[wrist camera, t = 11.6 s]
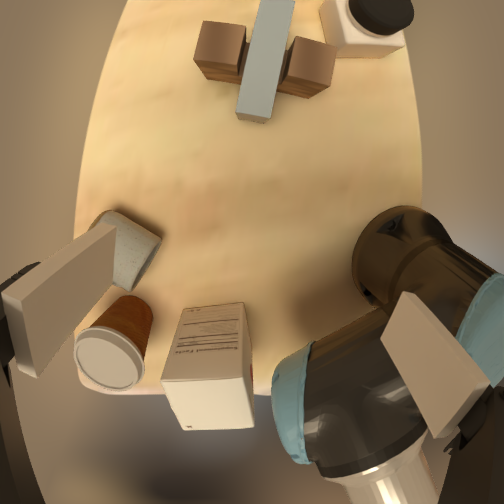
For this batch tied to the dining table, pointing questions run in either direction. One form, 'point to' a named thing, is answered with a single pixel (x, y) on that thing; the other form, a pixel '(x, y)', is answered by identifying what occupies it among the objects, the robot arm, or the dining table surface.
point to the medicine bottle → (365, 26)
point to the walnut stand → (236, 50)
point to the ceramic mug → (129, 249)
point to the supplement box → (211, 369)
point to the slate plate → (264, 60)
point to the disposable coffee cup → (115, 345)
